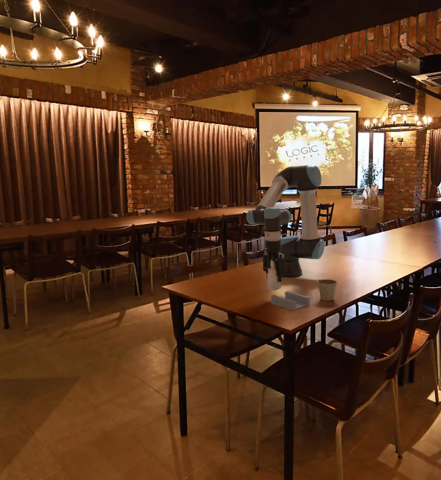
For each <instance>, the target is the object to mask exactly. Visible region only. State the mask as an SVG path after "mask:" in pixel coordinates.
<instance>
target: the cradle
mask: <svg viewBox="0 0 441 480" xmlns="http://www.w3.org/2000/svg"><path fill="white" fill-rule="evenodd" d="M310 299H311V297H310V296H307V295H304V294H300V293H297V292H292V291H288V290H285V291H284V297H283V296H279V295H276V294H272V295H270V304H271V305H274V306H278V307H281V308H284V309H287V310H291V311H296V310H299V309H301V308H304V307H308V306H310V305H311V304H310V303H311V302H310V301H311V300H310Z"/></svg>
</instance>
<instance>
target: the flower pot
mask: <svg viewBox="0 0 441 480" xmlns="http://www.w3.org/2000/svg"><path fill="white" fill-rule="evenodd" d="M316 283H317V285H318V290H319V297H320V298H319V299H320V300H322V301H324V302H330V301H334V300H335V299H334V298H335V293H336V287H337V284H338V281H337V280H335V279H328V278H325V279H324V278H322V279H319V280H317V281H316Z"/></svg>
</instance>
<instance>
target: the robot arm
mask: <svg viewBox="0 0 441 480" xmlns="http://www.w3.org/2000/svg"><path fill="white" fill-rule="evenodd" d="M321 185H322V174H321V170H320V168H319V167H318V166H317V165H315V164H313V165H312V164H307V165H306V164H305V165H295V166H294V165H291V166H288V167H286V168H284V169H282V170H281V171H280V172H278V173H277V174H276V175H275V177H274V178H273V179H272V182H271V185H270V187H269V188H268V190H267V191H266V193H265V194H264V195H263V197H262V199H261V200H260V202H259V203H258V204H257V205H256V208H255V209H250V210H248V211H247V213H246V218H245V219H246V221H247V223H248V224H249V225H254V226H255V225H256V226H257V225H258V226H259V225H260V226H261V225H263V226H264V248H265V251H264V250H262V251H261V254H262V271H263V272H265V274H266V277H265V278H266V280H267V281H266V286H267V288H269V283H268V268H271V261H270V259H273V262H274V264H275V269H276V274H277V275H275V279H276V289H278V288H279V289H281V288H282V283H281V282H282V278H283V277H284V278H294V277H295V278H296V277H300V276H302V275H303V270H302V268H301V267H302V266H301V263H300V259H303V260H304V259H308V260H320V259H321V258H322V257H323V254H324V251H325V240H324V239H322V238H321V235H320V234H319V233H318V218H317V217H318V216H317V214H318V213H317V196H316V192H317V191H318V189H319V187H320V186H321ZM289 188H296V191H297V192H298V193H299V200H300V201H299V202H300V214H301V215H300V217H301V232H302V234H301V235H300V236H298V235H289V236H284V237H282V236H281V235H282V234H281V226H285V225H287V224H288V223H290V222H291V221H292V213H291V211H290V210H288V209H280V208H279V206H277V207H276V204H277V202H278V201H279V199H280V198H281V197H282V195H283V192H285V191H287V190H288V189H289ZM275 259H276V260H275ZM279 289H278V290H279Z"/></svg>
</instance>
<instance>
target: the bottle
mask: <svg viewBox="0 0 441 480" xmlns="http://www.w3.org/2000/svg"><path fill="white" fill-rule="evenodd" d="M275 260H277V259H275ZM270 261H271V268H268V283H269V287H268V290H270V291H277V290H280V288H278V289H276V279H275V275H277V274H276V269H275V264H274V262H273V259H270Z"/></svg>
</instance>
